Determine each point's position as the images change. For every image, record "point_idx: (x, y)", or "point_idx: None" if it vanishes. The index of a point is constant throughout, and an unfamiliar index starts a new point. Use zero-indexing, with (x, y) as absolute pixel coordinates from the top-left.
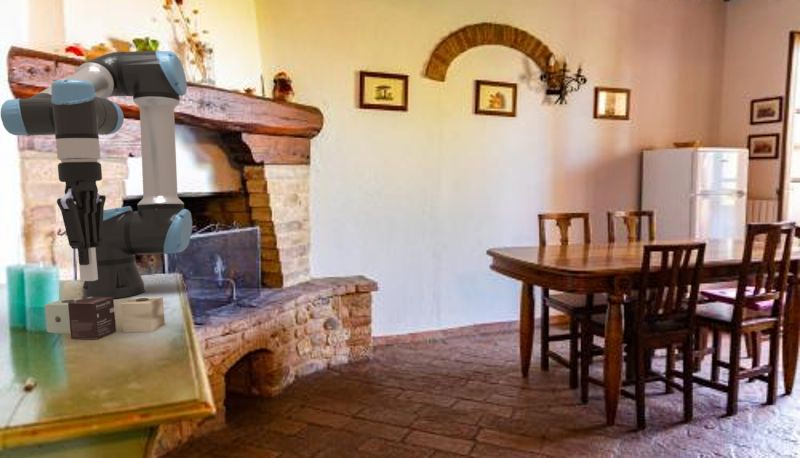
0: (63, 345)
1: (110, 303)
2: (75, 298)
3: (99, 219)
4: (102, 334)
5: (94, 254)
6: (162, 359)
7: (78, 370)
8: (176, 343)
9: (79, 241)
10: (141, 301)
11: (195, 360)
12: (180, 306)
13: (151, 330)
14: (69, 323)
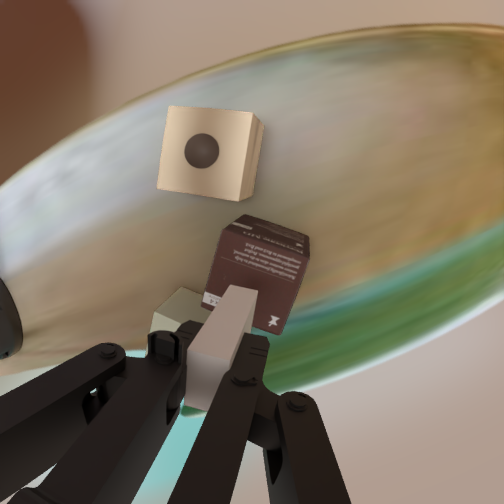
0: (338, 293)
1: (242, 230)
2: (147, 347)
3: (24, 421)
4: (290, 230)
5: (211, 334)
6: (470, 70)
7: (500, 202)
8: (377, 52)
9: (317, 422)
10: (220, 146)
11: (474, 24)
12: (56, 149)
13: (263, 126)
14: None
